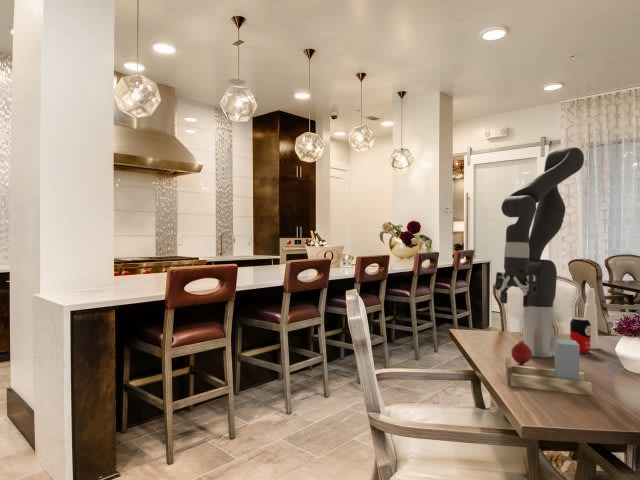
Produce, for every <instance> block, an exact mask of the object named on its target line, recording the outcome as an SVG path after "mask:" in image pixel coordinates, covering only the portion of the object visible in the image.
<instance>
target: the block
mask: <svg viewBox="0 0 640 480" xmlns="http://www.w3.org/2000/svg"><path fill="white" fill-rule="evenodd" d="M579 348H580V345H579V344H578V343H577V342H576V341H575V340H570V339H561V338H554V366H553V367H554V368H553V369H554V378H558V379H567V380H576V381H579V372H580V353H579Z"/></svg>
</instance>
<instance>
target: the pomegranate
mask: <svg viewBox="0 0 640 480" xmlns="http://www.w3.org/2000/svg"><path fill="white" fill-rule="evenodd" d="M510 353H511V357H512V359H513V360H514V361H515V362H516V363H517V364H519V366H523V365H524V366H525V364H526V363H528V362H529V361H530V360H531V359H532V357H533V356H532V353H531V350H530V348H529V347H528V346H527V345H526V344H525V343H524V340H523V339H521V340H520V341H519V342H517V343H516V344H515V345H514V346H513V347H512V348H511V352H510Z"/></svg>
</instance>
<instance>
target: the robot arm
mask: <svg viewBox="0 0 640 480" xmlns="http://www.w3.org/2000/svg"><path fill="white" fill-rule="evenodd" d="M584 163H585V156H584V153H583V151H582V149H580V148H579V147H574V146H573V147H572V146H571V147H562V148H558V149H553V150H551V151H549V152H548V153H547V156H546V159H545V162H544V168H543V172H541V173H539V174H538V175H536V176H535V177H533V178H532V179H530V181H528V182H527V183H526V184H525V185H524V186H523V187H522V188H520V189H517V190H516V191H514V192H513V193H511V194H509V195H508V196H506V197H505V198H504V199H503V201H502V203H501V211H502V214H503V215H504V216H505V217H508V218H517V220H516V222H515V223H513V224H509V225H508V226H507V227H506V230H505V245H504V253H503V254H504V258H503V269H504V272H503V271H497V272H496V275H495V285H494V289H495V290H498V291H499V293H500V295H499V297H500V298H499V300H500V304H507V303H508V290H509V289H510V288H512V287H514V288H519V290H520V291H521V292H522V293H523V296H522V297H523V298H522V307H523V325H522V326H523V330H522V331H523V334H522V335H523V336H522V340H524V343H525V344H526V345H527V346H528V347H529V348H530V350H531V353H532V356H531V357H534V358H542V359H544V358H552V357H553V356H555V334H556V333H555V327H554V302H555V298H556V291H557V280H558V279H557V277H558V272H557V266H556V264H555V263H554V262H553V261H552V260H551V259H541V258H542V254H543V252H544V250H545V248H546V247H547V246H548V244H549V243H550V242H551V241H552V239H553V238H554V237H555V236H556V235H557V234H558V233H559V232H560V230H561V228H562V225H563V223H564V218H565V214H566V205H565V202H564V199H563V197H562V195H561V194H560V192H559V188H558V185H559V184H561V183H562V182H564V181H565V180H567V179H568V178H570V177H571V176H573V175H575V174H576V173H578V172H579V171H580V170H581V169H582V167H583V165H584ZM530 230H531V231H530ZM504 279H505V280H504Z"/></svg>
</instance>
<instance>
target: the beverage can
mask: <svg viewBox="0 0 640 480" xmlns="http://www.w3.org/2000/svg"><path fill="white" fill-rule="evenodd" d="M571 319H572V320H571V321H570V322H569V323H570V324H569V340H575V341H576V342H577V343H578V344H579V345H580V348H579V354H587V353H590V351H591V349H590V337H591V324H590V322H589V319H587V318H584V317H579V316H573V317H572V318H571Z"/></svg>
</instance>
